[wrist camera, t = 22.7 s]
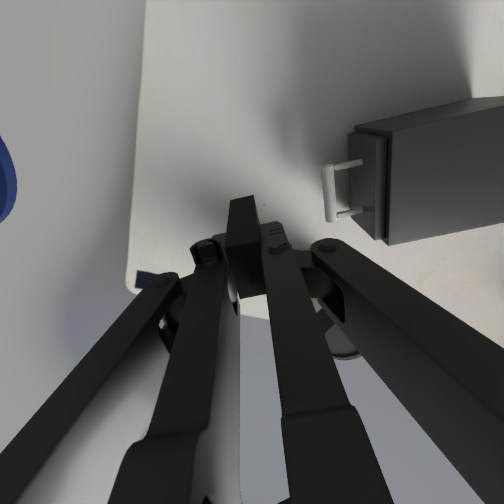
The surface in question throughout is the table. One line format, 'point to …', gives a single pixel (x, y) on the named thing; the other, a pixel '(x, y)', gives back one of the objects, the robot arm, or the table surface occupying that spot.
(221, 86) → the table surface
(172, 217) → the table surface
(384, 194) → the open drawer cabinet
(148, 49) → the table surface
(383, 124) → the dark gray cabinet body
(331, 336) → the coffee cup
